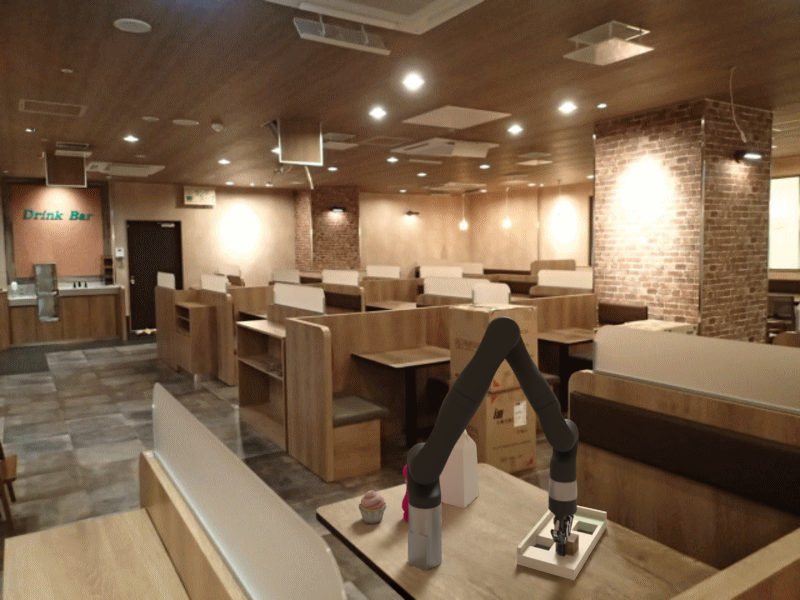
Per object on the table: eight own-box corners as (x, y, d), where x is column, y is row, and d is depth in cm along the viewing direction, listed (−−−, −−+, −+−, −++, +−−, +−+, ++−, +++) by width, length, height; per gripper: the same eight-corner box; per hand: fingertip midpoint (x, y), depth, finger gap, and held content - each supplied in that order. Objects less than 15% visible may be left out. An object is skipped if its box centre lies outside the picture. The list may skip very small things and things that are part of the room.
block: (573, 556, 171) (573, 542, 171) (555, 551, 174) (555, 537, 174) (578, 548, 176) (578, 534, 175) (561, 543, 178) (561, 530, 178)
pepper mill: (415, 526, 197) (414, 465, 194) (397, 519, 201) (396, 460, 199) (428, 517, 202) (427, 458, 200) (410, 511, 207) (409, 453, 204)
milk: (479, 495, 218) (479, 423, 215) (464, 508, 209) (464, 432, 206) (448, 488, 225) (448, 418, 222) (433, 500, 215) (432, 427, 212)
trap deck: (574, 580, 165) (574, 562, 165) (517, 564, 174) (517, 547, 173) (606, 527, 194) (606, 512, 193) (555, 515, 202) (556, 500, 202)
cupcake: (391, 523, 199) (390, 493, 198) (363, 528, 196) (362, 498, 194) (381, 510, 208) (380, 482, 206) (354, 516, 204) (353, 486, 203)
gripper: (568, 506, 161) (567, 569, 163) (583, 488, 172) (582, 547, 174) (540, 499, 165) (540, 561, 167) (557, 482, 176) (556, 540, 178)
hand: (562, 554), depth 171 cm, fingers closed
